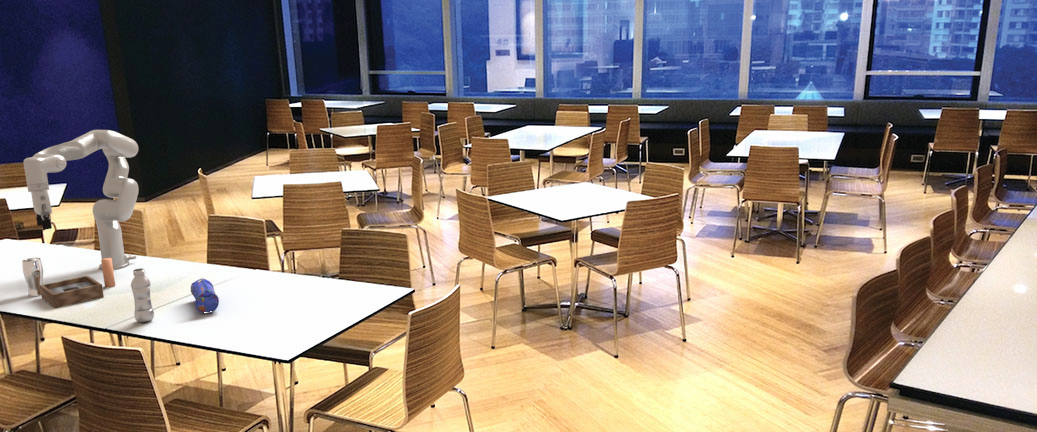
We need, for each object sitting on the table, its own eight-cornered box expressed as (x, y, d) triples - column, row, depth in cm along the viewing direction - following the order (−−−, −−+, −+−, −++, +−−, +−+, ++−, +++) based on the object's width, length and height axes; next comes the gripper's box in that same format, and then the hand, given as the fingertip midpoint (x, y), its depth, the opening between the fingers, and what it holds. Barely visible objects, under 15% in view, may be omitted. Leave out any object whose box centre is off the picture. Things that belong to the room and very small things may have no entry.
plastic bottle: (139, 318, 295) (132, 267, 290) (157, 317, 295) (151, 267, 291) (132, 324, 288) (125, 272, 284) (151, 323, 289) (144, 272, 284)
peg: (113, 284, 337) (109, 257, 335) (116, 286, 335) (113, 259, 332) (103, 286, 335) (99, 259, 332) (106, 288, 332) (103, 261, 329)
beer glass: (50, 293, 327) (45, 258, 323) (34, 298, 320) (28, 262, 317) (39, 291, 329) (34, 256, 326) (23, 295, 323) (17, 261, 320)
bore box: (89, 287, 333) (87, 275, 331) (103, 297, 320) (102, 284, 319) (41, 298, 320) (39, 285, 319) (54, 308, 308) (52, 294, 306)
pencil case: (191, 300, 315) (188, 277, 313) (214, 296, 319) (211, 274, 317) (196, 316, 296) (194, 292, 294) (220, 313, 300) (218, 289, 298)
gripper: (53, 188, 320) (59, 229, 324) (43, 183, 333) (49, 222, 337) (32, 191, 315) (39, 232, 319) (23, 185, 328) (29, 225, 332)
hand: (44, 227), depth 328 cm, fingers open, 9 cm apart
